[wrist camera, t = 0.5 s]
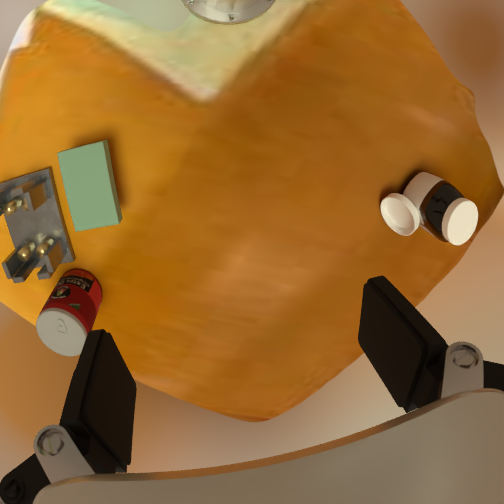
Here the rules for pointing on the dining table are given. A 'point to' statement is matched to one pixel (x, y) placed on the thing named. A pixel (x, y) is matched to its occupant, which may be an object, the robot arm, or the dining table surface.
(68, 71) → the dining table surface
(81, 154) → the board
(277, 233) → the dining table surface
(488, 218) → the dining table surface
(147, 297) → the dining table surface
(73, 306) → the canned food
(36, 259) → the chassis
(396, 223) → the spice jar
